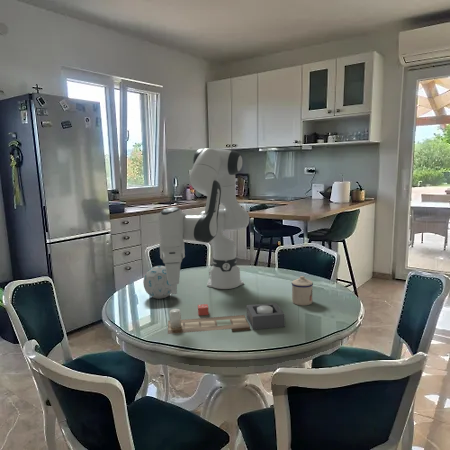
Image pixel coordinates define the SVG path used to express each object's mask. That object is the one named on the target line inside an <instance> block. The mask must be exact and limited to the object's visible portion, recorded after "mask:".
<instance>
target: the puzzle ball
mask: <svg viewBox="0 0 450 450" xmlns="http://www.w3.org/2000/svg"><path fill="white" fill-rule="evenodd" d="M143 288H144V290H145V292H146V294H148V295H149V296H150V297H152V298H154V299H158V300H161V299H165V298H167V297H169V296H170V295H172V290H171V285H169V284H168V280H167V274H166V268H165V265H156V266H153V267H151V268H150V269H149V270H147V272H146V273H145V274H144V277H143Z"/></svg>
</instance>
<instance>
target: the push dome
mask: <svg viewBox="0 0 450 450" xmlns="http://www.w3.org/2000/svg"><path fill="white" fill-rule="evenodd" d="M266 313H273V308H272V307H271V306H265V305H264V306H259V307H257V314H266Z"/></svg>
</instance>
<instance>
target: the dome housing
mask: <svg viewBox="0 0 450 450" xmlns="http://www.w3.org/2000/svg"><path fill="white" fill-rule="evenodd" d="M264 305H265V306H271V307H272V308H273V313H266V314H257V307H259V306H264ZM246 320H247V322H248V324H249V326H250V328H251V329H252V330H254V331H255V330H264V329H265V330H266V329H275V328H285V313H284V312H283V310H282V308H280V306H279V305H278V303H277V302H269V303H259V304H246Z"/></svg>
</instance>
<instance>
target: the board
mask: <svg viewBox="0 0 450 450" xmlns="http://www.w3.org/2000/svg"><path fill="white" fill-rule="evenodd" d="M221 330H231V331H232V332H239V331H240V332H241V331H251V325H250V323H249V321H248V319H247V316H246V315H245V314H240V315H237V314H236V315H227V316H226V315H225V316H213V317H200V318H199V317H198V318H188V319H181V327H180V328H176V329H173V328H171V326H170V320H167V335H172V334H182V333H183V334H185V333H195V332H196V333H197V332H207V331H208V332H209V331H221Z"/></svg>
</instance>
